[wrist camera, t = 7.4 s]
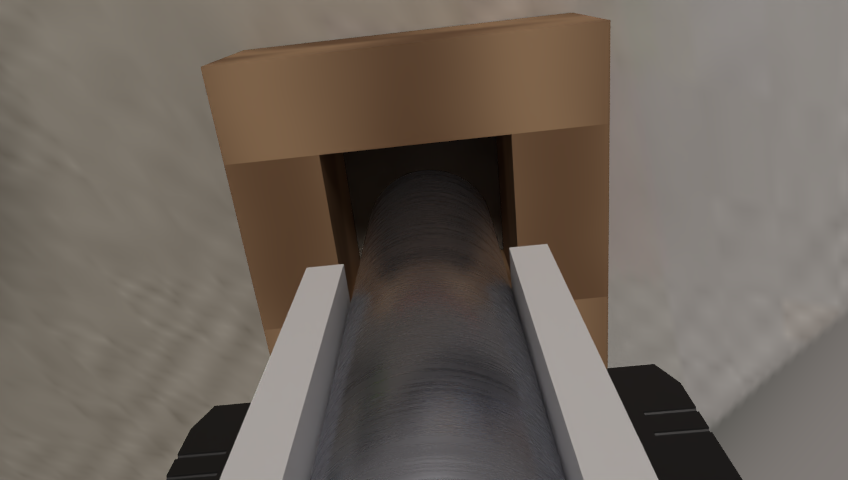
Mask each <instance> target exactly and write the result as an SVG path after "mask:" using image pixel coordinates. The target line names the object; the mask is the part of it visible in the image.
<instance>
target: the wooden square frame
mask: <svg viewBox="0 0 848 480" xmlns="http://www.w3.org/2000/svg"><path fill="white" fill-rule="evenodd" d="M201 71H202V75H203V79H204V83H205V87H206V91H207V95H208V100H209V104H210V108H211V112H212V116H213V120H214V124H215V129H216V133H217V137H218V141H219V145H220V149H221V154H222V158H223V162H224V166H225V170H226V174H227V178H228V183H229V187H230V191H231V195H232V199H233V203H234V208H235V212H236V216H237V220H238V224H239V228H240V232H241V237H242V241H243V245H244V249H245V253H246V257H247V261H248V266H249V270H250V274H251V278H252V282H253V286H254V291H255V295H256V299H257V303H258V307H259V311H260V315H261V320H262V324H263V328H264V332H265V336H266V340H267V345H268V349H269V353H270V356H271V353H272V351H273V348H274V346H275V343H276V341H277V338H278V336H279V334H280V331H281V329H282V326H283V324H284V321H285V319H286V317H287V314H288V312H289V309H290V307H291V304H292V302H293V300H294V297H295V295H296V292H297V290H298V287H299V285H300V283H301V280H302V278H303V275H304V273H305V270H306V268H308V267H318V266H328V265H338V264H344V269H345V275H346V280H347V286H348V292H349V297H350V303H351V299H352V294H353V290H354V286H355V281H356V277H357V273H358V268H359V264H360V255H359V249H358V243H357V236H356V230H355V224H354V218H353V212H352V206H351V200H350V193H349V187H348V181H347V175H346V169H345V163H344V157H343V152H351V151H360V150H369V149H379V148H388V147H397V146H407V145H416V144H425V143H434V142H444V141H453V140H462V139H472V138H481V137H490V136H496V141H497V157H498V172H499V188H500V204H501V219H502V235H503V250H500V251H501V254H502V258H503V261H504V265H505V268H506V272H507V275H508V279H509V282H510V286H511V270H510V253H509V248H510V247H520V246H530V245H541V244H548V247H549V249H550V251H551V253H552V255H553V257H554V259H555V261H556V263H557V266H558V268H559V270H560V272H561V274H562V276H563V278H564V280H565V283H566V285H567V287H568V289H569V291H570V293H571V295H572V297H573V300H574V302H575V304H576V306H577V308H578V310H579V312H580V314H581V317H582V319H583V321H584V323H585V325H586V327H587V329H588V331H589V333H590V336H591V338H592V340H593V342H594V344H595V346H596V348H597V350H598V353H599V355H600V357H601V359H602V361H603V363H604V365H605V367H606V368H607V366H608V244H609V121H610V20H606V19H601V18H596V17H591V16H586V15H581V14H576V13H566V14H557V15H548V16H540V17H531V18H522V19H513V20H505V21H496V22H487V23H479V24H470V25H461V26H452V27H444V28H435V29H426V30H417V31H409V32H400V33H391V34H382V35H374V36H365V37H356V38H347V39H339V40H330V41H321V42H313V43H304V44H295V45H286V46H278V47H269V48H260V49H251V50H243V51H241V52H238V53H236V54H233V55H230V56H228V57H225V58H223V59H220V60H217V61H215V62H212V63H210V64H207V65H204V66H202V67H201ZM511 289H512V287H511Z"/></svg>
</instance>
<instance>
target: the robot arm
mask: <svg viewBox="0 0 848 480" xmlns="http://www.w3.org/2000/svg"><path fill="white" fill-rule="evenodd" d="M509 253H510V270H511V287H512V293H513V296H514V300H515V303H516V307H517V310H518V314H519V317H520V321H521V324H522V328H523V331H524V335H525V338H526V341H527V345H528V348H529V352H530V355H531V359H532V362H533V366H534V369H535V373H536V376H537V380H538V383H539V387H540V390H541V394H542V397H543V401H544V404H545V408H546V411H547V415H548V418H549V422H550V425H551V429H552V432H553V436H554V439H555V443H556V446H557V450H558V453H559V457H560V460H561V464H562V467H563V471H564V474H565V478H566V480H742V478H741V477H740V475H739V474H738V472H737V471H736V469H735V467H734V466H733V464H732V463H731V461H730V460H729V458H728V456H727V455H726V453H725V452H724V450H723V449H722V447H721V445H720V444H719V442H718V441H717V439H716V438H715V436H714V435H713V433H712V432H710V431H709V427H708V425H707V424H706V422H705V420H704V419H703V417H702V416H701V414H700V413H699V412H697V411H696V406H695V405H694V403H693V402H692V400H691V399H690V397H689V395H688V394H687V392H686V391H685V389H684V388H683V386H682V385H681V383H680V382H678V381H677V380H676V379H674V378H673V377H671V376H670V375H669V374H667V373H666V372H664V371H663V370H662V369H660V368H659V367H657V366H656V365H655V364H651V365H640V366H629V367H617V368H606V367H605V365H604V363H603V361H602V359H601V357H600V355H599V353H598V350H597V348H596V346H595V344H594V342H593V340H592V338H591V336H590V333H589V331H588V329H587V327H586V325H585V323H584V321H583V319H582V317H581V314H580V312H579V310H578V308H577V306H576V304H575V302H574V300H573V297H572V295H571V293H570V291H569V289H568V287H567V285H566V283H565V280H564V278H563V276H562V274H561V272H560V270H559V268H558V266H557V263H556V261H555V259H554V257H553V255H552V253H551V251H550V249H549V247H548V244H541V245H530V246H520V247H510V248H509ZM349 307H350V297H349V292H348V286H347V280H346V275H345V269H344V264H338V265H328V266H318V267H308V268H306V270H305V273H304V275H303V278H302V280H301V283H300V285H299V287H298V290H297V292H296V295H295V297H294V300H293V302H292V304H291V307H290V309H289V312H288V314H287V317H286V319H285V321H284V324H283V326H282V329H281V331H280V334H279V336H278V338H277V341H276V343H275V346H274V348H273V351H272V353H271V356H270V358H269V360H268V363H267V365H266V368H265V370H264V373H263V375H262V377H261V380H260V382H259V385H258V387H257V390H256V392H255V394H254V397H253V399H252V402H251V403H243V404H232V405H220V406H214V407H213V408H212V409H211V410H210V411H209V412H208V413H207V414H206V415H205V416H204V417H203V418H202V419H201V420H200V421H199V422H198V423H197V424H196V425H194V426H193V427H192V428H191V430H190V432H189V434H188V436H187V437H186V439H185V441H184V443H183V445H182V447H181V449H180V451H179V453H178V459H175V460H174V462H173V464H172V466H171V468H170V470H169V472H168V474H167V480H310V478H311V473H312V469H313V465H314V460H315V456H316V451H317V447H318V443H319V438H320V434H321V430H322V425H323V421H324V417H325V412H326V408H327V403H328V399H329V395H330V390H331V386H332V382H333V377H334V373H335V369H336V364H337V360H338V355H339V351H340V347H341V342H342V338H343V334H344V329H345V325H346V321H347V316H348V312H349Z"/></svg>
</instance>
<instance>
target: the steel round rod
mask: <svg viewBox="0 0 848 480" xmlns="http://www.w3.org/2000/svg"><path fill="white" fill-rule="evenodd" d="M310 480H566V478H565V474H564V471H563V467H562V464H561V460H560V457H559V453H558V450H557V446H556V443H555V439H554V436H553V432H552V429H551V425H550V422H549V418H548V415H547V411H546V408H545V404H544V401H543V397H542V394H541V390H540V387H539V383H538V380H537V376H536V373H535V369H534V366H533V362H532V359H531V355H530V352H529V348H528V345H527V341H526V338H525V335H524V331H523V328H522V324H521V321H520V317H519V314H518V310H517V307H516V303H515V300H514V296H513V293H512V289H511V286H510V282H509V279H508V275H507V272H506V268H505V265H504V261H503V258H502V254H501V251H500V247H499V244H498V240H497V237H496V233H495V230H494V226H493V223H492V219H491V216H490V212H489V209H488V206H487V204H486V202H485V200H484V199H483V197H482V195H481V194H480V193H479V192H478V191H477V189H476V188H475V187H474V186H472V185H471V184H470V183H469V182H467V181H466V180H464V179H463V178H461V177H459V176H457V175H454V174H452V173H449V172H444V171H438V170H423V171H417V172H413V173H410V174H407V175H405V176H402V177H400V178H399V179H397V180H395V181H394V182H392V183H391V184H390V185H389V186H388V187H386V189H385V190H384V191H383V192H382V193H381V194H380V196H379V197H378V199H377V200H376V202H375V204H374V206H373V209H372V212H371V216H370V220H369V225H368V229H367V233H366V238H365V242H364V246H363V251H362V255H361V259H360V264H359V268H358V273H357V277H356V281H355V286H354V290H353V294H352V299H351V303H350V307H349V312H348V316H347V321H346V325H345V329H344V334H343V338H342V342H341V347H340V351H339V355H338V360H337V364H336V369H335V373H334V377H333V382H332V386H331V390H330V395H329V399H328V403H327V408H326V412H325V417H324V421H323V425H322V430H321V434H320V438H319V443H318V447H317V451H316V456H315V460H314V465H313V469H312V473H311V478H310Z"/></svg>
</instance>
